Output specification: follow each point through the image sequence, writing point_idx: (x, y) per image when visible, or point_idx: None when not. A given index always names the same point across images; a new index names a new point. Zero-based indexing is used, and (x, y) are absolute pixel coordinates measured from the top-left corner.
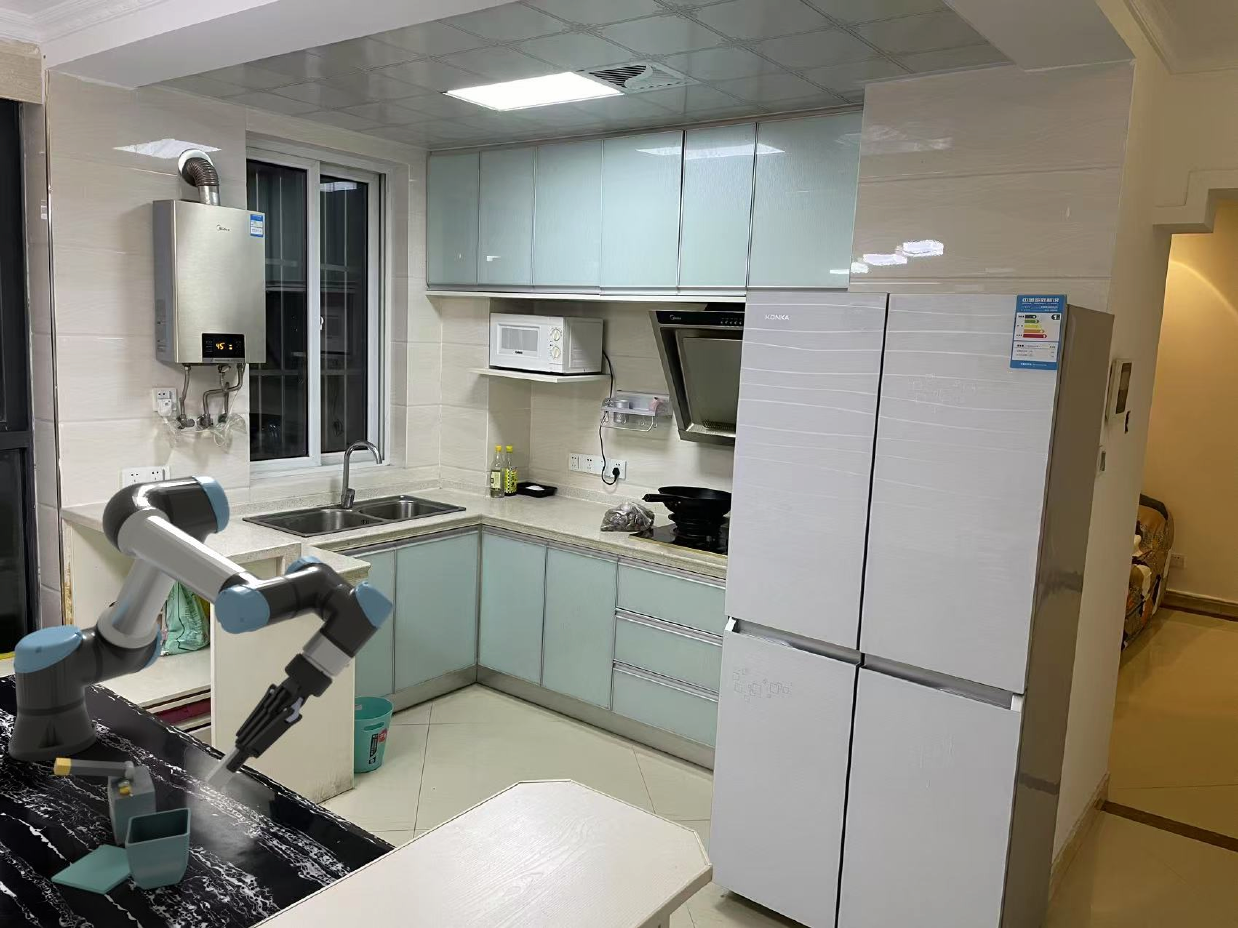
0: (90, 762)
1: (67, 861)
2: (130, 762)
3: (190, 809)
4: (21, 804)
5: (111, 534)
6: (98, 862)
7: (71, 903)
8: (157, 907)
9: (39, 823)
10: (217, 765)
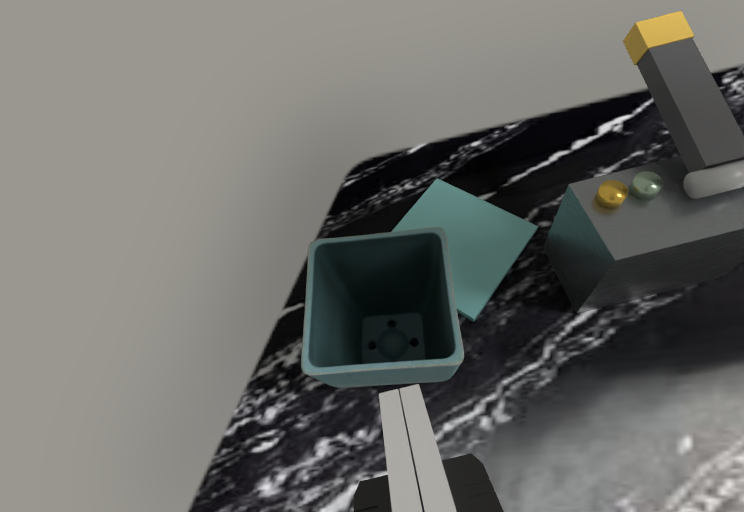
0: (699, 80)
1: (496, 188)
2: None
3: (449, 364)
4: (716, 83)
5: None
6: (470, 230)
7: (361, 221)
8: (296, 349)
9: (641, 122)
10: (418, 430)
